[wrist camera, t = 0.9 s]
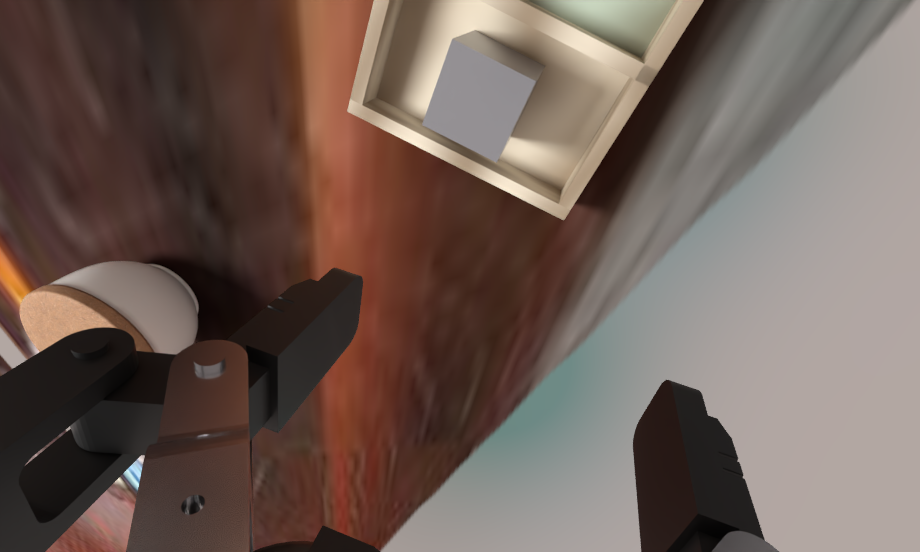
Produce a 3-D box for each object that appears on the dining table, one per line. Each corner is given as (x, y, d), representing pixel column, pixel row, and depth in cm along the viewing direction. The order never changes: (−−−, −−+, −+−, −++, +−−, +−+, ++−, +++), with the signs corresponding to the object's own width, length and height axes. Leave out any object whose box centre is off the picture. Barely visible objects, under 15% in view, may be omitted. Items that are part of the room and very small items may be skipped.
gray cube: (447, 104, 28) (421, 124, 24) (475, 29, 26) (452, 38, 22) (511, 136, 28) (496, 162, 24) (545, 65, 26) (536, 81, 22)
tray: (367, 101, 30) (347, 111, 28) (470, -289, 20) (452, -326, 17) (566, 201, 31) (563, 220, 28) (772, -131, 20) (796, -146, 18)
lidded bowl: (243, 341, 47) (160, 425, 38) (154, 341, 51) (61, 416, 42) (183, 234, 41) (68, 304, 32) (88, 243, 45) (-38, 307, 36)
